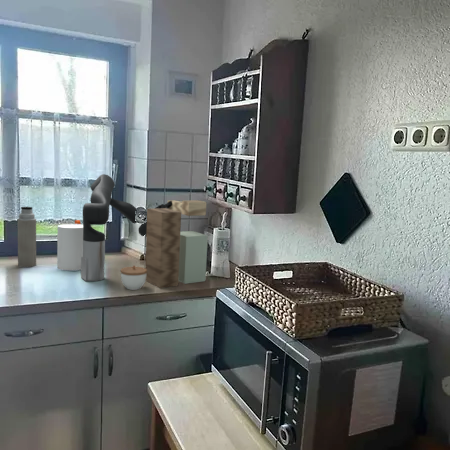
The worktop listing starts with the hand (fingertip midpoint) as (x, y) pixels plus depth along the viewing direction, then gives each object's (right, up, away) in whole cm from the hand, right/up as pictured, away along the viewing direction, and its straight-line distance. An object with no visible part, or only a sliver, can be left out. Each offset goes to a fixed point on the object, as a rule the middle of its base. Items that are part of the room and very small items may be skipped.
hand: (175, 202), depth 212 cm
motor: (-53, -28, +21) cm, 63 cm away
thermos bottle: (-71, -30, +2) cm, 77 cm away
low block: (+6, -35, -7) cm, 36 cm away
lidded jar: (-15, -37, -25) cm, 47 cm away
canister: (-50, -31, +3) cm, 59 cm away
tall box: (-5, -36, -16) cm, 39 cm away
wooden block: (+4, -5, -6) cm, 8 cm away
